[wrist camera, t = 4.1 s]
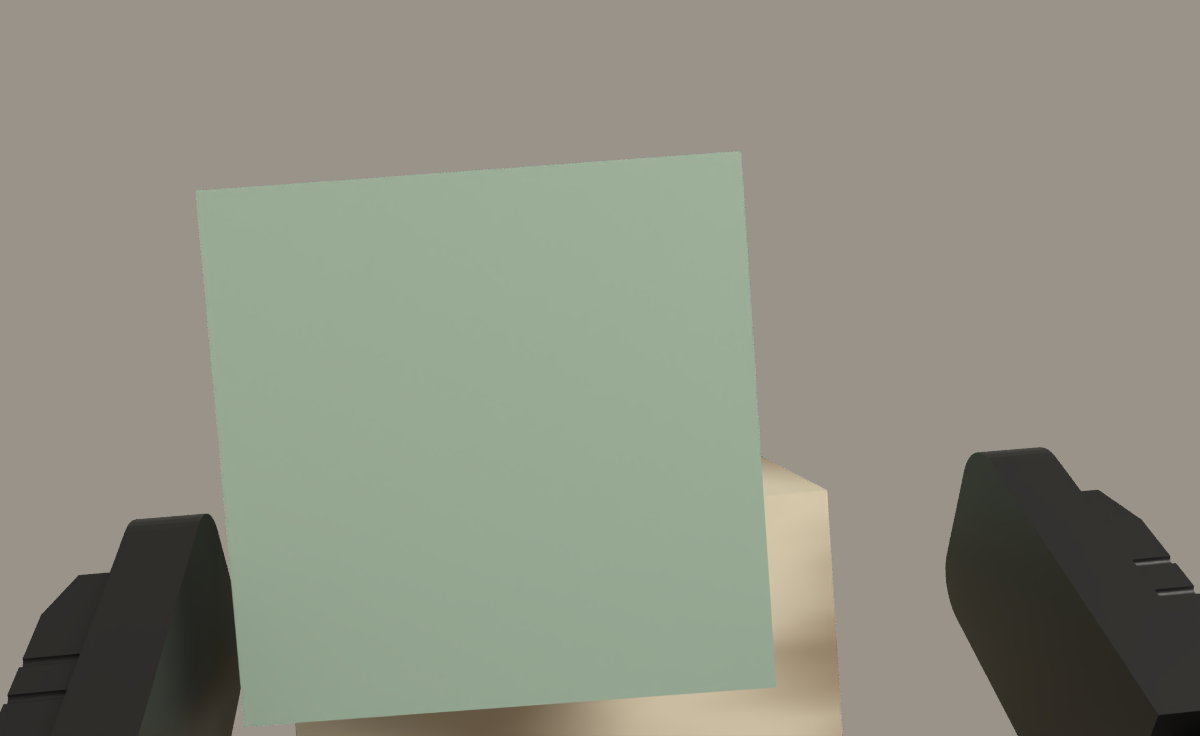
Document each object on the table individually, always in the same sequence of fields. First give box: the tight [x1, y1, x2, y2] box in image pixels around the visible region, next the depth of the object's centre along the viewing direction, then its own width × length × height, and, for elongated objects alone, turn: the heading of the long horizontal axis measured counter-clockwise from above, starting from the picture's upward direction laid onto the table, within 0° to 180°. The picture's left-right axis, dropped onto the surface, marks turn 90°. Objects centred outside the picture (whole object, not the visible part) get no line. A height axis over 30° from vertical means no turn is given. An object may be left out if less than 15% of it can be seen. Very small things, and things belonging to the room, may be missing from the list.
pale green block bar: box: [196, 151, 776, 727], centre depth 23 cm, size 26×5×5 cm, turn 0°
